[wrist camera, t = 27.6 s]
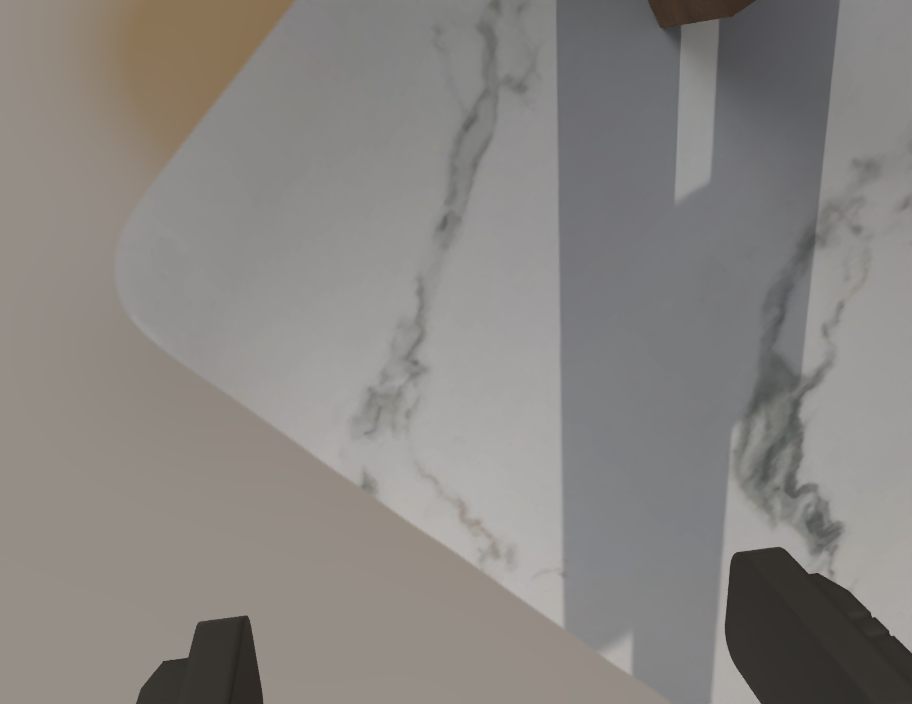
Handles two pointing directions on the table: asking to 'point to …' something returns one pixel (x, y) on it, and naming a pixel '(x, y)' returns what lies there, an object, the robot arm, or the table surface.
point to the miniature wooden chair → (694, 10)
